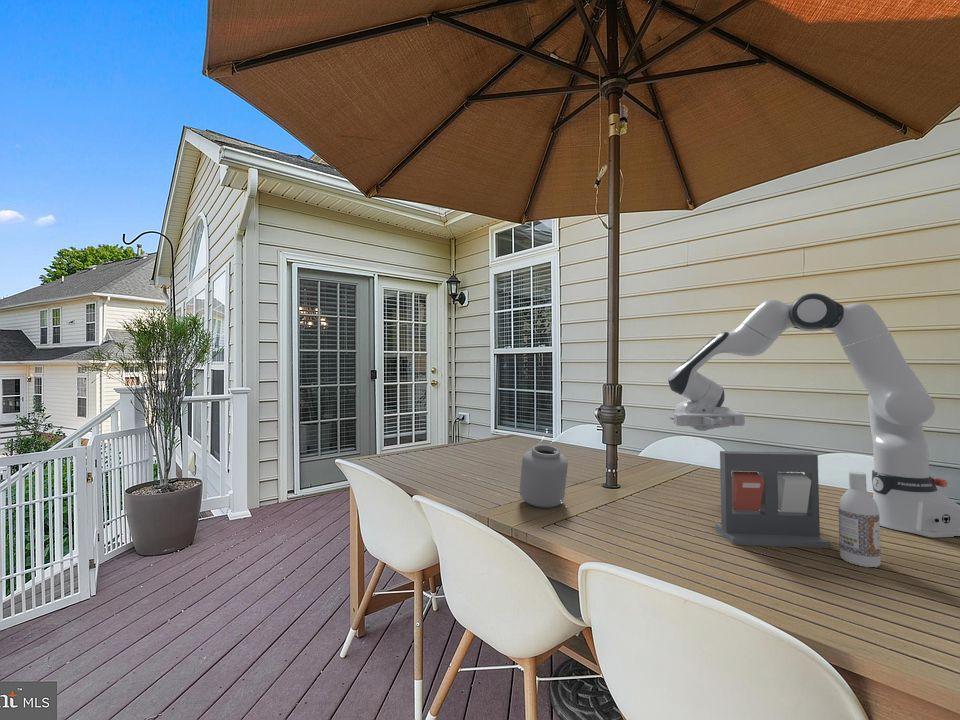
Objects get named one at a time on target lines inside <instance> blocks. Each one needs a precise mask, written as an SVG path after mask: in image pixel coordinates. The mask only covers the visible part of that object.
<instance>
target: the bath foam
mask: <svg viewBox="0 0 960 720" xmlns="http://www.w3.org/2000/svg"><path fill="white" fill-rule="evenodd" d="M848 482H849V484H848V485H849V486H848V487H849V488H848V489H847V490H846V491H845V492H844V493H843V494H842V495H841V497H840V499H839V503H838V509H837V510H838V540H839V557H840V558H841V560H843V561H844V562H846V563H848V562H849V564H851V565H854V564H855V565H854V566H857V565H859V567H862V566H865V567H864V568H868V567H875V568H879V567H880V566H881V561H882V560H881V527H880V517H879V509H878V506H877V504H876V502H875V500H874V499H873V496H872V495H871V494H870V492H869V491H868V490H867V474H866V473H864V472H860V471H849V472H848ZM878 566H879V567H878Z"/></svg>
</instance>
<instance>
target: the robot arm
mask: <svg viewBox="0 0 960 720" xmlns="http://www.w3.org/2000/svg"><path fill="white" fill-rule="evenodd" d="M790 328H793V329H798V330H801V331H804V332H818V331H822V330H825V329H827V330H829V331H831V332H833V334H834V336H835V337H837V340H838V341H839V343H840V345H841V347H842V350H843V351H844V354H845V356H846V357H847V359H848V361H849V364H850V366H851V367H852V370H853V371H854V373H855V375H856V376H857V378H858V380H859V381H860V383H861V384H862V385H863V387H864V389H865V390H866V392H867V394H868V397H867V407H868V419H869V424H870V431H871V438H872V449H873V450H872V451H873V452H872V453H873V456H872V457H873V469H872V471H871V484H872V490H873V496H872V498H873V499H874V500H875V502H876V504H877V506H878V509H879V517H880V526H881V527H884V528H888V529H891V530H896V531H899V532H903V533H904V532H906V533H911V534H914V535H915V534H916V535H918V536H919V535H920V536H922V537H923V536H924V537H927V538H934V539H935V538H955V537H954V536H960V504H958V503H957V502H955V501H954V500H952V499H951V498H949V497H948V496H946V495H944V494H943V493H941V492H940V491H938V488H937V487H941V488H947V487H948V486H949V485H948V484H949V483H948V481H947V480H945V479H942V478H938V477H937V478H933V477H932V476H930V462H929V460H930V458H929V457H930V456H929V446H928V442H927V439H926V435H925V432H924V427H923V423H925V422H927V421H928V420H930V419H931V418H932V417H933V416H934V413H935V409H936V407H935V406H936V405H935V403H934V401H933V399H932V397H931V396H930V394H929V393H928V391H927V389H926V388H925V386H924V385H923V384H922V382H921V380H920V379H919V378H918V376H917V375H916V373H915V372H914V370H913V369H912V368H911V366H910V365H909V363H908V362H907V361H906V359H905V357H904V356H903V354H902V352H901V351H900V349H899V347H898V345H897V343H896V341H895V339H894V337H893V336H892V334H891V332H890V330H889V328H888V326H887V325H886V323H885V322H884V320H883V319H882V317H881V316H880V315H879V313H878V312H877V311H876V310H875V309H874V308H873V306H871V305H870V304H868V303H865V302H862V303H861V302H854V303H850V304H846V305H843V304H841V303H839V302H837V301H835V300H833V299H832V298H831V297H829V296H827V295H824V294H821V293H807V294H803V295H801V296H799V297H798V298H796V299H795V300H794V301H793V303H790V304H788V303H785V302H783V301H781V300H777V299H767V300H764V301H763V302H762V303H760V304H759V305H758V306H757V307H755V309H754V310H752V311H751V312H750V313H749V314H748V316H746V318H745V319H744V320H742V322H741V323H740V324H739V325H738V326H737V327H735V328H734V329H731V330H730V331H721V332H719V333H718V334H716V335H715V336H714V337H713V338H711V339H710V340H708V342H706V344H705V345H703V346H702V347H701V348H700V349H699V350H697V352H695V353H694V354H693V355H692V356H690V357H689V358H688V359H687V360H686V361H685V362H683V363H682V364H681V365H679V366H678V367H677V368H675V369H674V370H673V371H672V372H671V373H670V375H669V377H668V379H667V382H668V385H669V388H670V390H671V391H672V392H674V393H675V394H677V395H681V396H683V397H684V398H686V399H687V400H684V401H681V402H679V403H677V404H676V405H675V408H674V413H673V415H670V416H669V420H672V421H673V423H674V425H676V426H678V427H689V428H692V429H694V430H697V431H700V432H705V431H708V430H713V429H720V428H721V429H722V428H729V427H744V426H745V425H746V418H745V414H744V413H742V412H740V411H736V410H733V409H730V407H728V406H722V405H723V404H724V401H725V390H724V388H723V386H722V385H720V384H718V383H717V382H715V381H714V380H712V379H710V378H708V377H706V376H704V374H701V373H700V372H698V370H699V369H700V368H701V367H704V365H705V364H706V363H707V362H709V361H710V360H711V359H712V358H713V357H715V356H717V355H720V354H731V355H737V356H741V357H756V356H759V355H761V354H764V353H765V352H766V351H767V350H768V349H770V348H771V346H772V345H773V344H774V343H775V341H777V339H778V338H779V337H780V336H781V335H782V334H783V333H784V332H786V331H787V330H788V329H790Z"/></svg>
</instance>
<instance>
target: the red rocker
mask: <svg viewBox="0 0 960 720" xmlns="http://www.w3.org/2000/svg"><path fill="white" fill-rule="evenodd" d="M731 479H732V510H745V511H760V504H761V498H762V492H763V487H764V480H763V479H762V477H761V476H760V475H759V472H758V471H731Z"/></svg>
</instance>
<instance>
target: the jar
mask: <svg viewBox="0 0 960 720" xmlns="http://www.w3.org/2000/svg"><path fill="white" fill-rule="evenodd" d="M545 430H546V431H545V432H546V433H547V434H548V428H546V429H545ZM543 439H545V436H542V439H541V441H540V443H541V442H542V440H543ZM552 442H553V443H554V440H552ZM552 442H551V443H552ZM568 462H569V461H568V460H567V458H566V456H565V455H563V454H562V453H561V450H560V449H559V448H558V447H555V446H552V445H549V444H535V445H533V446H532V447H531V449H530V450H527V451H525V452H524V453H523V455H522V459H521V469H520V471H521V473H520V482H519V483H520V484H519V496H520V497H521V499H522V500H524V502H525V503H527V504H528V505H531V506H533V507H536V508H541V509H542V508H543V509H549V508H555V507H557V506H559V505H561V504H563V501H564V499H565V493H566V492H565V491H566V487H567V486H566V485H567V484H566V483H567V474H568V465H569V463H568ZM565 508H567V506H565Z"/></svg>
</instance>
